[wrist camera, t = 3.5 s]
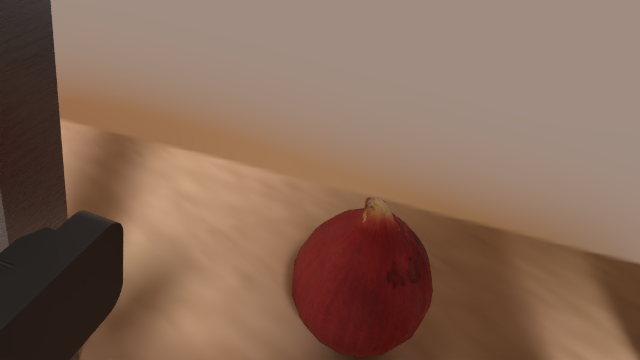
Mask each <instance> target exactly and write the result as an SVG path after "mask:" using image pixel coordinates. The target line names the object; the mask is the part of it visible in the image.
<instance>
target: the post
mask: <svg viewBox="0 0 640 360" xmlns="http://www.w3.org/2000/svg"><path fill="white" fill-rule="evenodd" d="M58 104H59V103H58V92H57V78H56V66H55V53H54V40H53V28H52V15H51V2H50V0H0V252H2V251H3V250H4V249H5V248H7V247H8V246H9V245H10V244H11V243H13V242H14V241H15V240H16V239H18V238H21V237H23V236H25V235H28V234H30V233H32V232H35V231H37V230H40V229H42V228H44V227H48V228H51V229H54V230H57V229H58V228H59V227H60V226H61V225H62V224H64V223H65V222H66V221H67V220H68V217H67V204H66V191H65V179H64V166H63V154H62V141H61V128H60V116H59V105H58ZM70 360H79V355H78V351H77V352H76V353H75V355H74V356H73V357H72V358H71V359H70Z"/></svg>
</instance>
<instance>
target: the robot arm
mask: <svg viewBox="0 0 640 360" xmlns="http://www.w3.org/2000/svg"><path fill="white" fill-rule="evenodd" d="M122 285H123V227H122V225H121V224H120V223H117V222H114V221H112V220H109V219H106V218H103V217H101V216H98V215H95V214H92V213H89V212H87V211H79V212H77V213H76V214H74V215H73V216H72V217H71V218H69V219H68V220H67V221H66V222H65V223H64V224H62V225H61V226H60V227H59V228H58V229H57V230H54V229H51V228H48V227H44V228H42V229H40V230H37V231H35V232H32V233H30V234H28V235H25V236H23V237H21V238H18V239H16V240H15V241H14V242H13V243H11V244H10V245H9V246H8V247H7V248H5V249H4V250H3V251H2V252H0V360H70V359H71V358H72V357H73V356H74V355H75V353H76V352H77V351H78V350H79V349H80V348H81V346H82V345H83V344H84V343H85V342H86V340H87V339H88V338H89V337H90V336H91V335H92V333H93V332H94V331H95V330H96V329H97V328H98V326H99V325H100V324H101V323H102V322H103V321H104V319H105V318H106V317H107V316H108V315H109V313H110V312H111V311H112V309H113V308H114V306H115V304H116V302H117V300H118V298H119V296H120V293H121V289H122Z"/></svg>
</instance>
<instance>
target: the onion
mask: <svg viewBox="0 0 640 360" xmlns="http://www.w3.org/2000/svg"><path fill="white" fill-rule="evenodd" d="M432 292H433V288H432V277H431V271H430V264H429V258H428V255H427V253H426V250H425V248H424V246H423V244H422V243H421V241H420V240H419V238H418V237H417V236H416V235H415V233H414V232H413V231H412V230H411V229H410V228H409V227H408V226H407V225H406V224H405V223H404V222H403V221H402V220H401V219H400V218H398V217H396V216H395V215H394V214H393V213H392V212H391V211H390V208H389V206H388V204H387V203H386V202H384V201H383V200H382V199H379V198H371V197H369V198H367V199H366V206H365V208H363V209H355V210H348V211H345V212H342V213H340V214H338V215H337V216H335V217H333V218H331V219H329V220H327V221H326V222H324V223H323V224H321V225H320V226H319V227H317V228H316V230H315V231H314V232H313V233H312V234H311V235H310V237H309V238H308V240H307V241H306V242H305V244H304V245H303V246H302V248H301V249H300V251H299V254H298V256H297V258H296V260H295V264H294V273H293V284H292V296H293V299H294V302H295V305H296V307H297V310H298V313H299V316H300V318H301V319H302V321H303V322H304V324H305V325H306V327H307V328H308V329H309V330H310V331H311V332H312V334H313V335H314V336H315V337H316V338H317V339H318V341H319V342H321V343H323V344H325V345H326V346H328V347H330V348H331V349H333V350H335V351H337V352H338V353H341V354H346V355H350V356H354V357H368V356H375V355H382V354H384V353H386V352H387V351H389V350H391V349H393V348H394V347H396V346H398V345H400V344H401V343H403V342H405V341H406V340H408V339H410V338H411V337H412V336H413V334H414V333H415V331H416V330H417V328H418V327H419V325H420V323H421V322H422V320H423V318H424V316H425V314H426V312H427V311H428V309H429V307H430V303H431V298H432Z"/></svg>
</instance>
